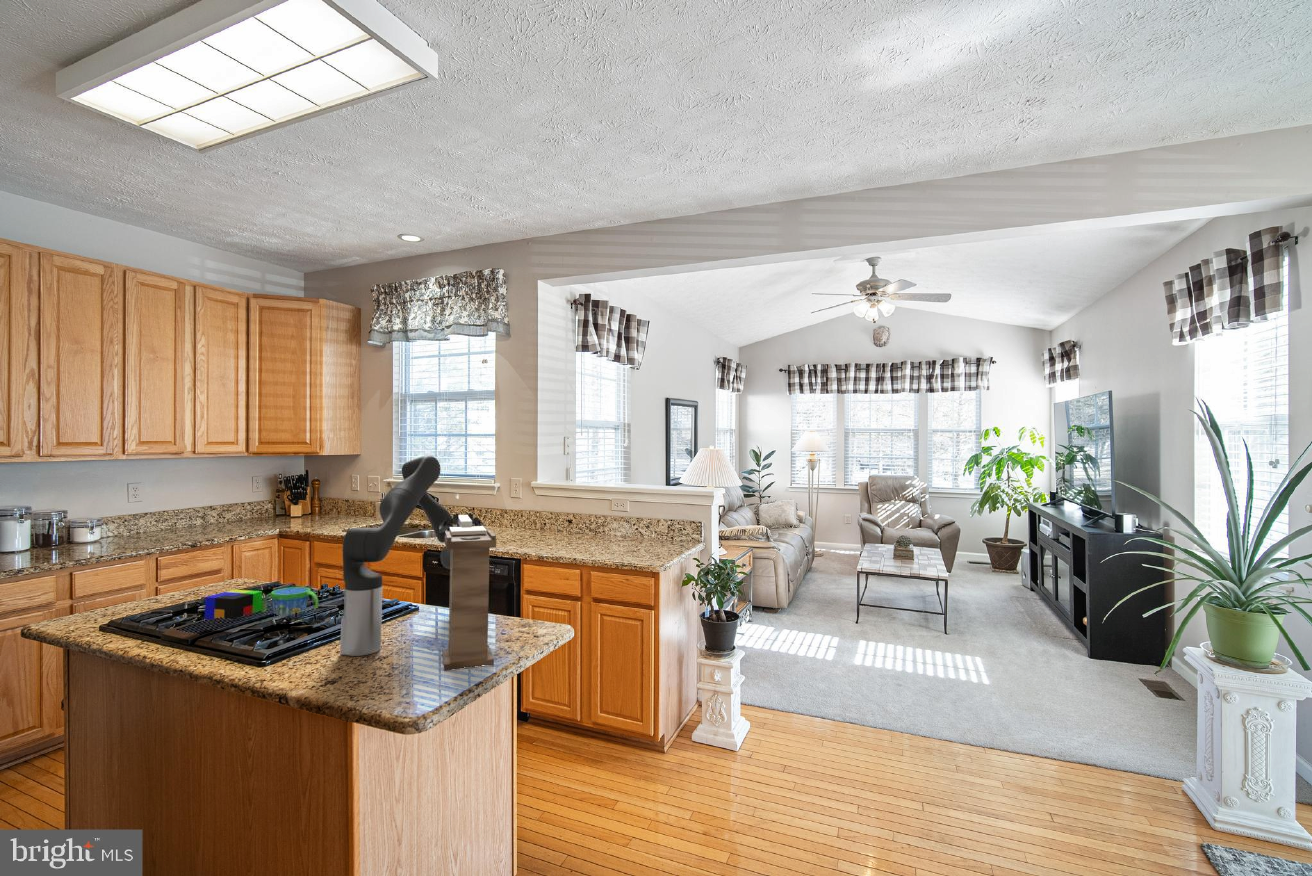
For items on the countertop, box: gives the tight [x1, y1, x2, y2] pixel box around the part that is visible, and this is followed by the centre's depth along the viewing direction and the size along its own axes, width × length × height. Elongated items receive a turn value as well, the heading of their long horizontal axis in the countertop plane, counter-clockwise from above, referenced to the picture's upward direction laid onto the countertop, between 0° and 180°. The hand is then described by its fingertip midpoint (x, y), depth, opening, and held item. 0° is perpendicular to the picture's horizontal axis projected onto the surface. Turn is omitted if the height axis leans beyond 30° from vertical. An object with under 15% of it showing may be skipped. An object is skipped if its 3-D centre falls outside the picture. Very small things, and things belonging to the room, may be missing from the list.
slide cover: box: [450, 514, 487, 535], centre depth 171 cm, size 26×9×2 cm, turn 22°
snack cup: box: [261, 586, 319, 615], centre depth 186 cm, size 16×10×10 cm
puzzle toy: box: [204, 589, 263, 620], centre depth 181 cm, size 10×10×10 cm
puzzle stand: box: [441, 529, 497, 672], centre depth 156 cm, size 12×12×33 cm
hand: (463, 515), depth 178 cm, fingers closed on slide cover, 3 cm apart
